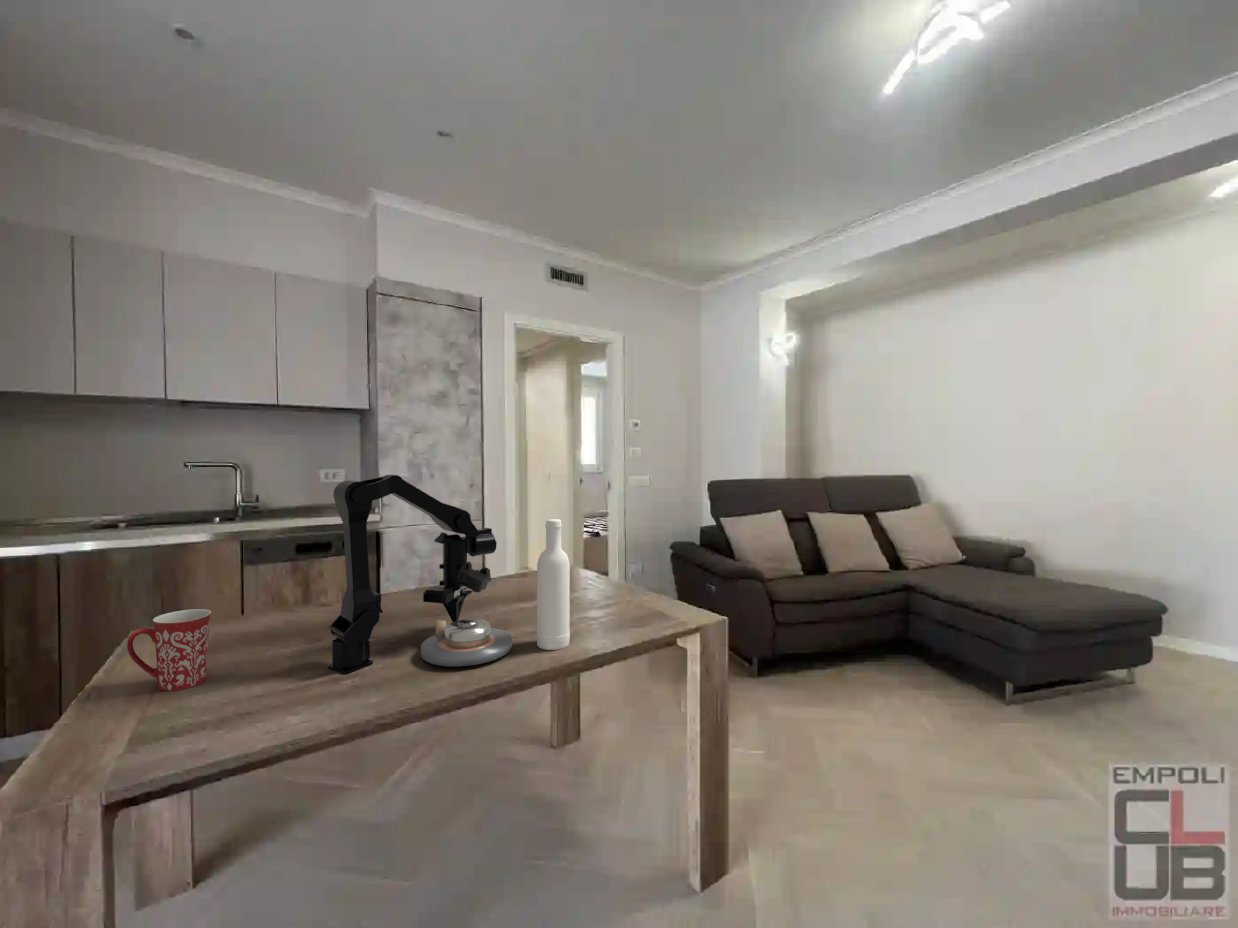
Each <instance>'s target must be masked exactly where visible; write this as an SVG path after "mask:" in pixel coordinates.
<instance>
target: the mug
mask: <svg viewBox="0 0 1238 928" xmlns="http://www.w3.org/2000/svg"><path fill="white" fill-rule="evenodd" d="M211 615H212V610H211V609H204V608H202V609H201V608H199V609H197V608H195V609H194V608H193V609H182V610H177V611H172V612H167V613H163V614H160V615H157V616H156V617H154V618H152V623H153V625H154V628H148V627H147V628H145V627H144V628H139V629H137V630H134V631H133V632H132V633H131V634H130V635H129V637H128V639H127V643H126V645H127V647H126V649H127V653H128V655H129V656H130V658H131V660H132V661H133V662H134V663H136V665H138V666H139V667H140V668H141V669H142V670H143V671H144V672H146V673H148V674H149V675H150V676H152V677H153V678H155V679H156V680H157V687H158V689H159V690H161V691H167V692H169V691H179V690H184V689H187V688H191V687H195V686H197V685H199V684H201V683H202V682H204V681H205V680H206V679H207V678H206V677H207V668H208V667H207V664H208V653H209V652H208V651H209V638H210V622H211V620H210V619H211ZM143 634H145V635H148V636H149V637H150V638H151V640H152V642H153V644H155V657H156V667H152V666H151V665H149V664H147V662H145V661H144V660H142V659H141V658H140V656H139V655H138V654H137V653H136V652H135V650H134V640H135V638H136V637H137V636H139V635H143Z"/></svg>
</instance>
